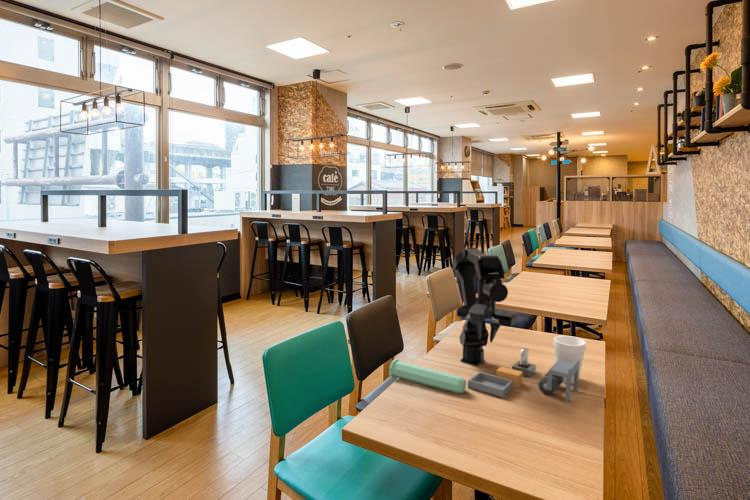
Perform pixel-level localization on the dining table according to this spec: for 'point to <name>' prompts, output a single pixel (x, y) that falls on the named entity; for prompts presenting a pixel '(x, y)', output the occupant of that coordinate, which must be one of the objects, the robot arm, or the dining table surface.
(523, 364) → the pin
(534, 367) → the pin bracket
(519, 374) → the block
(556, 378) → the grey wheeled cart
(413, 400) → the dining table surface
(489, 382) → the tray
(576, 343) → the foam cup
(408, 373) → the container
